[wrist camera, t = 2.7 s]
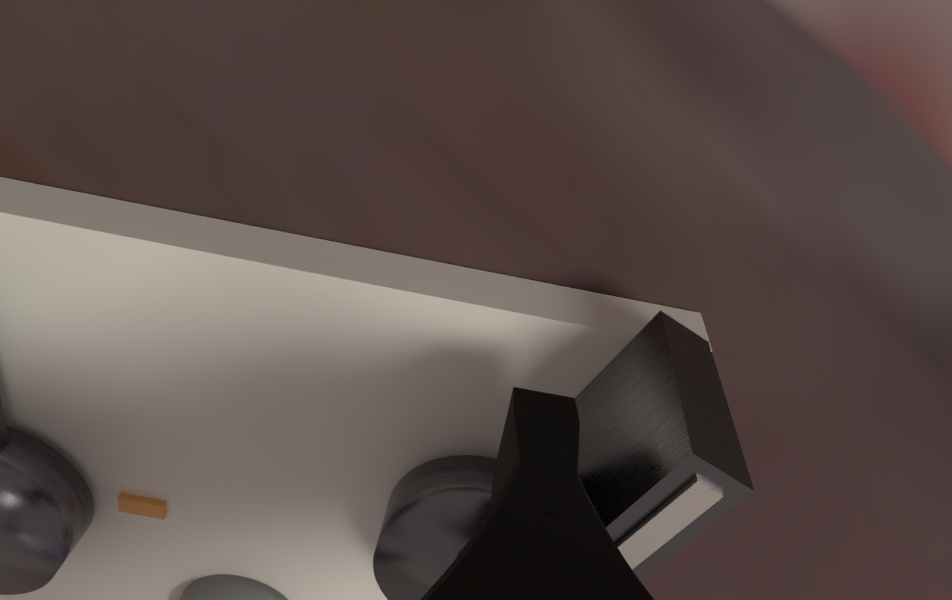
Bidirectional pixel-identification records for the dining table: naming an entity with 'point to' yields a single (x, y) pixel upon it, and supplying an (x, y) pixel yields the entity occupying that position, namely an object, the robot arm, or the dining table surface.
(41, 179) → the dining table surface
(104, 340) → the base
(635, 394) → the knob
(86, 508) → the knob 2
